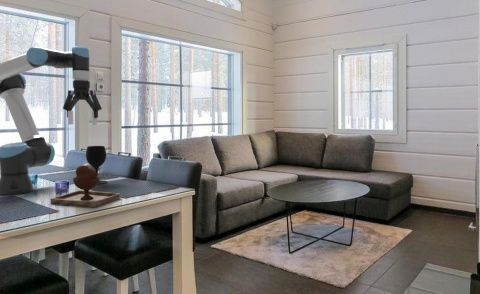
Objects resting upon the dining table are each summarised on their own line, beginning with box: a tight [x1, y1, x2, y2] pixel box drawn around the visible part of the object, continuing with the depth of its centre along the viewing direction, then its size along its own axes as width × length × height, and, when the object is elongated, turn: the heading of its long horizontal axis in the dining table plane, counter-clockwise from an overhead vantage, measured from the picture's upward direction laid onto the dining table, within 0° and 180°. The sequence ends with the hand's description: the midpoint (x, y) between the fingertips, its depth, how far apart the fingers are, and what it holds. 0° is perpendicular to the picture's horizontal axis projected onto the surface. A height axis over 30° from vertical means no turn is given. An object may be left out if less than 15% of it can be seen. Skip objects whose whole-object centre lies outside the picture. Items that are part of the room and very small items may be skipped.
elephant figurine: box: [83, 162, 103, 172], centre depth 217 cm, size 8×14×15 cm
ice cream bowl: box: [72, 164, 100, 200], centre depth 164 cm, size 11×11×15 cm
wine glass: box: [85, 145, 108, 185], centre depth 205 cm, size 10×10×20 cm
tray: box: [50, 189, 121, 209], centre depth 165 cm, size 22×18×2 cm
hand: (82, 124), depth 181 cm, fingers open, 13 cm apart
